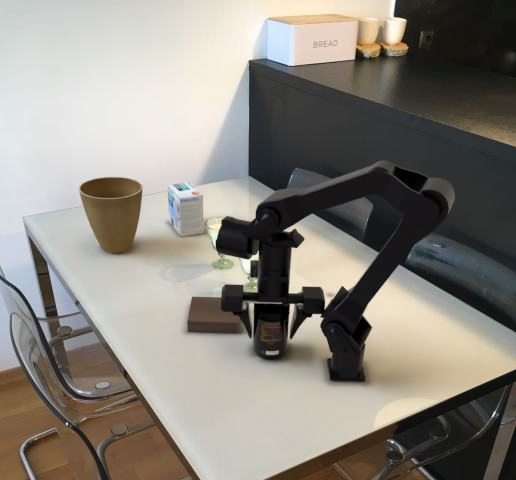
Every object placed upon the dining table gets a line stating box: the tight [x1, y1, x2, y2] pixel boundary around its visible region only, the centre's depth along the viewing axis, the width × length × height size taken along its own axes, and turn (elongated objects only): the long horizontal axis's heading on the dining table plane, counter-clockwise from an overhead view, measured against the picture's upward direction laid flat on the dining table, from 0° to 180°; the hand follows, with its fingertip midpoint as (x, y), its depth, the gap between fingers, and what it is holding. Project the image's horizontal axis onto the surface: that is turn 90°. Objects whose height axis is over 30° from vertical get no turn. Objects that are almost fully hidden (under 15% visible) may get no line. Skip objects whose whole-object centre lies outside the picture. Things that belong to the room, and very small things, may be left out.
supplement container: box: [252, 303, 291, 361], centre depth 113 cm, size 7×7×10 cm
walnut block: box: [186, 296, 239, 334], centre depth 124 cm, size 10×10×2 cm
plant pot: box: [78, 176, 144, 255], centre depth 147 cm, size 15×15×16 cm
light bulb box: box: [167, 181, 205, 237], centre depth 160 cm, size 11×7×11 cm, turn 25°
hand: (270, 337), depth 114 cm, fingers closed on supplement container, 7 cm apart
